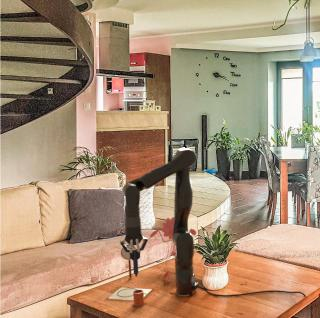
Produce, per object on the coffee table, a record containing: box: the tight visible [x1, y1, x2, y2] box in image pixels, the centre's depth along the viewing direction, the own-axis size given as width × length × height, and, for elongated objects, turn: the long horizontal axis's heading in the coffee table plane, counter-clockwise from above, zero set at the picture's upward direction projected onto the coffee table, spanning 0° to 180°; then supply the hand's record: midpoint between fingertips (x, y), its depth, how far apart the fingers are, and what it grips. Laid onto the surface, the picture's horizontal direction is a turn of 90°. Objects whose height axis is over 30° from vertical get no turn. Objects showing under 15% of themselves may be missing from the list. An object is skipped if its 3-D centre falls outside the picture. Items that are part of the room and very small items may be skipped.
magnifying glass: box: [120, 244, 137, 280], centre depth 247 cm, size 9×2×20 cm, turn 105°
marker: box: [132, 248, 139, 278], centre depth 213 cm, size 2×2×14 cm
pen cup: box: [133, 288, 145, 307], centre depth 214 cm, size 5×5×7 cm
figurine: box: [149, 216, 197, 283], centre depth 247 cm, size 15×26×35 cm, turn 115°
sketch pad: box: [107, 286, 153, 301], centre depth 227 cm, size 18×14×1 cm
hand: (135, 259), depth 213 cm, fingers closed on marker, 2 cm apart
